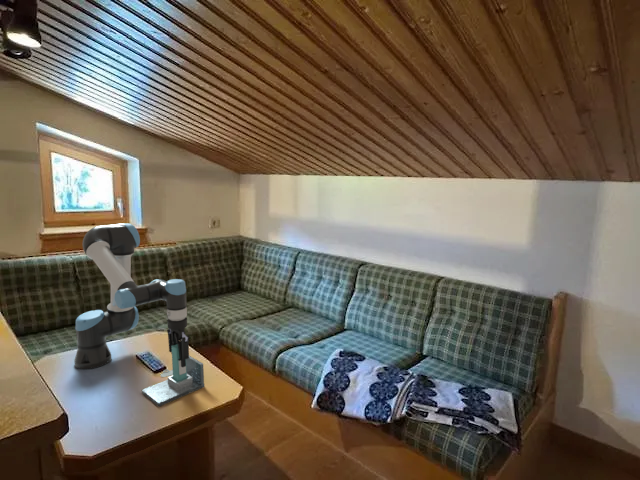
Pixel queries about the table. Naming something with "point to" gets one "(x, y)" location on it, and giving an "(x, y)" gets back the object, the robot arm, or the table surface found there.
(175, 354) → the teal block
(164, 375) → the mounting bracket
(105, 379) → the table surface
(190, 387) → the cup bracket
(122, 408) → the table surface
